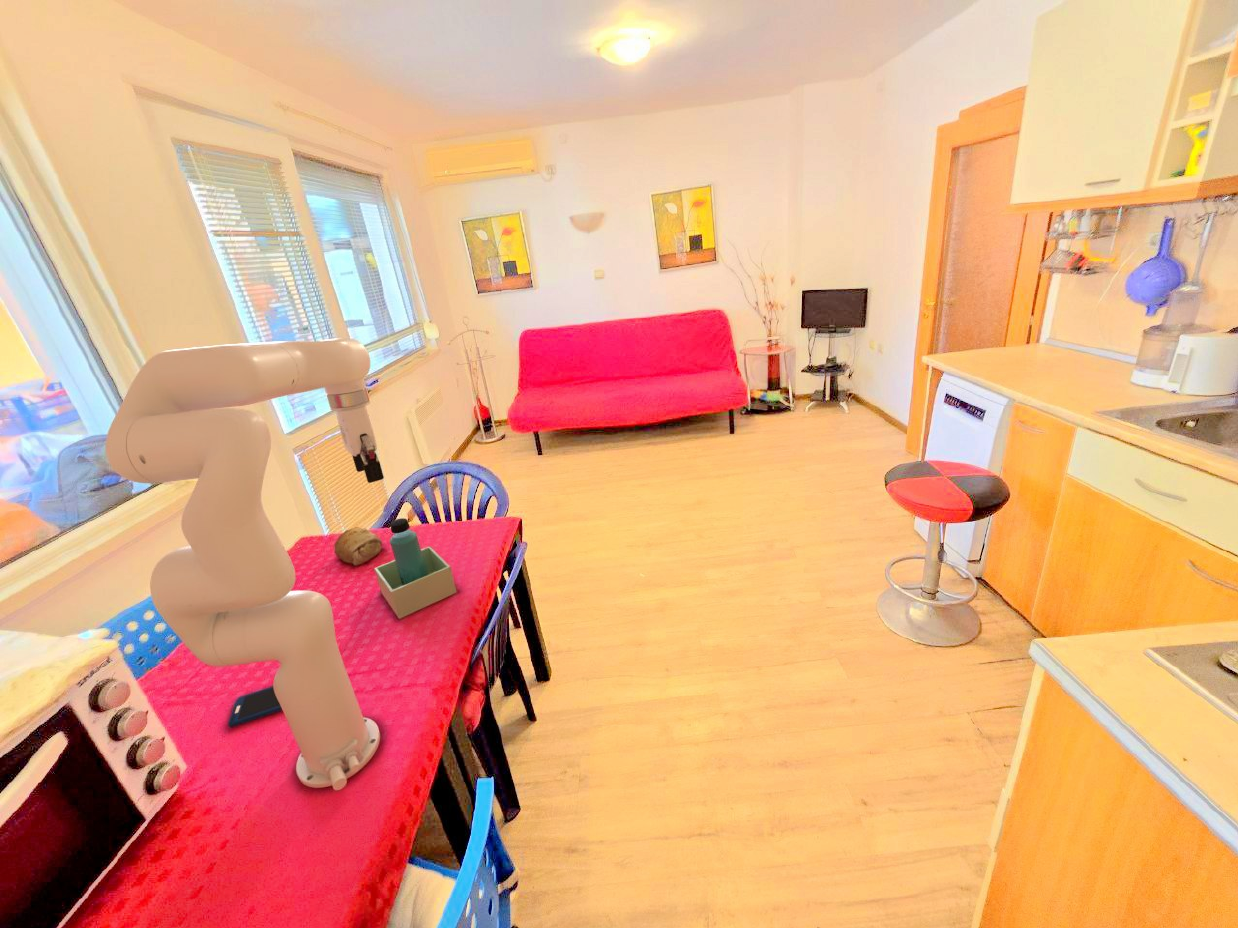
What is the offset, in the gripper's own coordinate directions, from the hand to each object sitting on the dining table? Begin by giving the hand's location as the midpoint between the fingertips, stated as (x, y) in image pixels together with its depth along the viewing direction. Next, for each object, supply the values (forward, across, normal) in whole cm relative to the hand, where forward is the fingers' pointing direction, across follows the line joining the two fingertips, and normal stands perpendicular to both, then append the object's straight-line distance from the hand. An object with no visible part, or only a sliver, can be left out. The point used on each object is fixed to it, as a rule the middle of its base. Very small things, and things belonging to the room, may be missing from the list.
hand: (370, 475), depth 111 cm
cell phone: (+35, +13, -29) cm, 47 cm away
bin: (+34, -2, +4) cm, 34 cm away
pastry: (+34, -35, -2) cm, 49 cm away
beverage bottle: (+34, -2, +4) cm, 34 cm away
